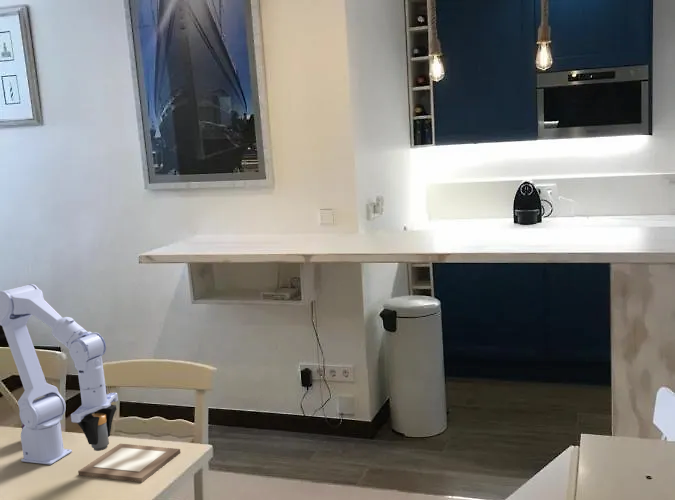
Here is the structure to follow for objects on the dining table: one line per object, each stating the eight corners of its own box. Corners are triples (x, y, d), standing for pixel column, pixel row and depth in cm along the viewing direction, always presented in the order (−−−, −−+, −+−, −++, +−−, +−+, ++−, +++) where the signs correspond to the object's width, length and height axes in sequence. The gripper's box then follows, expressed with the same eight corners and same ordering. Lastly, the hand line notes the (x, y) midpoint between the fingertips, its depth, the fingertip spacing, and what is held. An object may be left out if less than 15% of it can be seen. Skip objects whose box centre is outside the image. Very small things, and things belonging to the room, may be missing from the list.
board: (78, 475, 171) (77, 470, 171) (120, 447, 186) (120, 442, 186) (142, 482, 165) (141, 477, 165) (180, 452, 180) (179, 448, 179)
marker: (87, 450, 171) (83, 418, 170) (99, 443, 175) (95, 412, 174) (102, 452, 170) (98, 420, 169) (113, 445, 174) (109, 413, 173)
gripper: (85, 397, 162) (93, 454, 164) (125, 376, 176) (131, 429, 178) (60, 395, 165) (68, 451, 167) (101, 375, 178) (108, 427, 180)
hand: (99, 440), depth 172 cm, fingers closed on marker, 4 cm apart
